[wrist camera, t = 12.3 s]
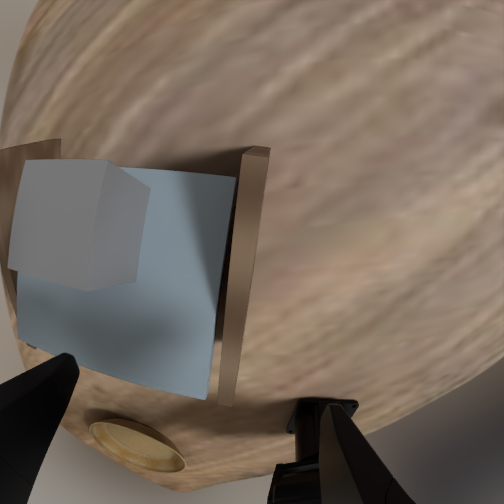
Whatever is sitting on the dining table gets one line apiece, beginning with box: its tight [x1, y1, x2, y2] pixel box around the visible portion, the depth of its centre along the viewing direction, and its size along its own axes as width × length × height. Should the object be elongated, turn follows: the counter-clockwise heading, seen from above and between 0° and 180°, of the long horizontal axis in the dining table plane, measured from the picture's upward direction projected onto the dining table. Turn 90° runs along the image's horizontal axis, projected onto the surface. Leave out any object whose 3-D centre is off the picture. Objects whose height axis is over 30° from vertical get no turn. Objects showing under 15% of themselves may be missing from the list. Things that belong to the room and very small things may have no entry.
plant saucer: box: [89, 419, 186, 474], centre depth 32 cm, size 15×15×3 cm
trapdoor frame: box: [0, 139, 270, 407], centre depth 17 cm, size 15×17×7 cm
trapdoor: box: [17, 167, 237, 400], centre depth 17 cm, size 12×14×5 cm
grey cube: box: [8, 159, 151, 291], centre depth 12 cm, size 5×5×5 cm
